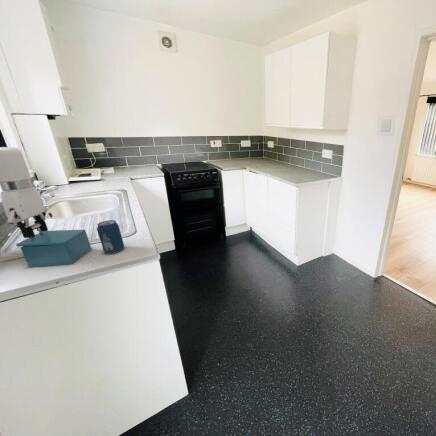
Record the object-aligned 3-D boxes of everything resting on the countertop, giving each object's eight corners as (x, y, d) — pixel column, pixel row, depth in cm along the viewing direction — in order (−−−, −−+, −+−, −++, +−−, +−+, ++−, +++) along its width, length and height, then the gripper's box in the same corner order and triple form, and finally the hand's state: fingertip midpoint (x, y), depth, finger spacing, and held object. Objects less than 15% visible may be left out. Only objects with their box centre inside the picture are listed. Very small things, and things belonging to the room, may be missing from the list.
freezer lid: (16, 246, 84) (10, 231, 82) (44, 232, 95) (39, 219, 93) (64, 244, 86) (59, 229, 84) (85, 231, 97) (81, 218, 95)
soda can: (123, 245, 103) (115, 218, 99) (126, 250, 98) (118, 222, 94) (103, 250, 99) (94, 222, 94) (105, 256, 94) (96, 227, 90)
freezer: (29, 267, 87) (20, 247, 84) (54, 251, 98) (46, 233, 95) (71, 264, 89) (64, 244, 86) (91, 249, 100) (85, 231, 97)
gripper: (26, 180, 90) (43, 225, 96) (-22, 191, 74) (2, 245, 81) (49, 179, 91) (64, 225, 98) (6, 190, 75) (28, 243, 82)
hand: (36, 233), depth 89 cm, fingers closed on freezer lid, 5 cm apart
